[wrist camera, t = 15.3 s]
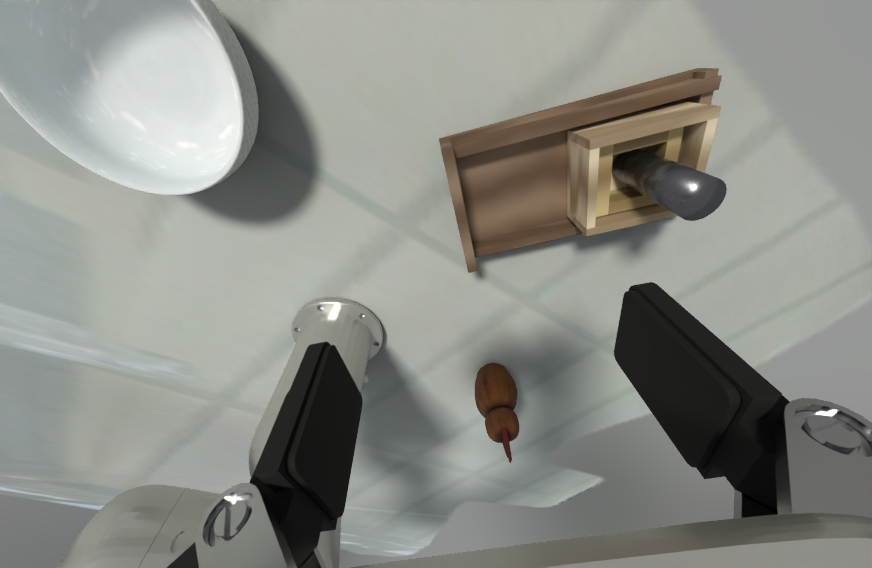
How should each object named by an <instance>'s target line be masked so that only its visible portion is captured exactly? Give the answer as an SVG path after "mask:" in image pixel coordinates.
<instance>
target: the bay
mask: <svg viewBox="0 0 872 568" xmlns="http://www.w3.org/2000/svg"><path fill="white" fill-rule="evenodd" d="M718 70H719V69H713V68H697V69H693V70H689V71H686V72H682V73H678V74H675V75H671V76H667V77H664V78H660V79H656V80H653V81H649V82H645V83H642V84H638V85H634V86H631V87H627V88H623V89H620V90H616V91H612V92H609V93H605V94H601V95H598V96H594V97H590V98H587V99H583V100H579V101H576V102H572V103H568V104H565V105H561V106H557V107H554V108H550V109H546V110H543V111H539V112H535V113H532V114H528V115H524V116H521V117H517V118H513V119H510V120H506V121H502V122H499V123H495V124H491V125H488V126H484V127H480V128H477V129H473V130H469V131H466V132H462V133H458V134H455V135H451V136H447V137H444V138H440V139H439V141H440V146H441V151H442V156H443V160H444V165H445V169H446V174H447V178H448V183H449V187H450V192H451V196H452V201H453V205H454V210H455V214H456V219H457V223H458V228H459V232H460V237H461V241H462V246H463V250H464V255H465V259H466V264H467V268H468V273H470V272H474V271H477V266H476V261H475V257H479V256H484V255H488V254H493V253H497V252H502V251H506V250H511V249H515V248H519V247H524V246H528V245H533V244H537V243H542V242H546V241H551V240H555V239H559V238H564V237H568V236H573V235H577V234H582V233H583V232H582V231H581V230H580V229H579V228H578V227H577V226H576V225H575V224H574V223H573V222H572V221H571V220H570V219H569V218H568V217H567V130H569V129H572V128H576V127H580V126H584V125H588V124H591V123H595V122H599V121H603V120H607V119H610V118H614V117H618V116H622V115H626V114H629V113H633V112H637V111H641V110H645V109H648V108H652V107H656V106H660V105H664V104H667V103H671V102H675V101H685V102H692V103H700V104H707V105H710V104H711V100H712V96H713V91H714V90H718V89H719V85H720V81H721V77H722V76H717V74H718Z"/></svg>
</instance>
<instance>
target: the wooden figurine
mask: <svg viewBox="0 0 872 568" xmlns="http://www.w3.org/2000/svg"><path fill="white" fill-rule="evenodd" d="M475 400H476V405H477V408H478V410H479V412H480V413H481V414H482V415H483V416H484V417H485V418H486V419H485V426H486V430H487V433H488V436H489V437H490V438H491V439H492V440H493V441H495V442H497V443H503V446H504V449H505V452H506V455H507V457H508V458H509V462H510V463H511V461H512V458H511V451H510V445H509V442H510V441H512V440H514V439H515V438H516V437H517V435H518V433H519V422H518V418H517V415H516V414H515V412H514V411H513V410H514V408H515V406H516V400H517V388H516V384H515V382H514V380H513V378H512V376H511V375H510V374H509V373H508V371H507V370H506V369H505V368H504V367H503V366H501V365H498V364H488V365H485V366H484V367H482V368H481V369H480V370H479V372H478V373H477V377H476V381H475Z"/></svg>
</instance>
